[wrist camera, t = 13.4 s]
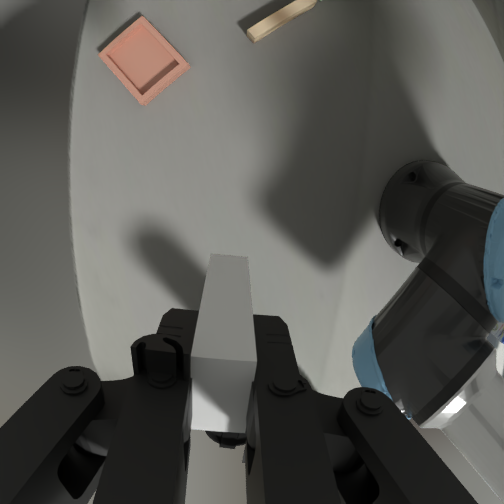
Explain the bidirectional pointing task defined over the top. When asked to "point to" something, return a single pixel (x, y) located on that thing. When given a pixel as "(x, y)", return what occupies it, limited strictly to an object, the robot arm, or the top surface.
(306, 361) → the top surface
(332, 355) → the top surface
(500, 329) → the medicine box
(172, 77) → the pit tray
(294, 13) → the channel
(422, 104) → the top surface
